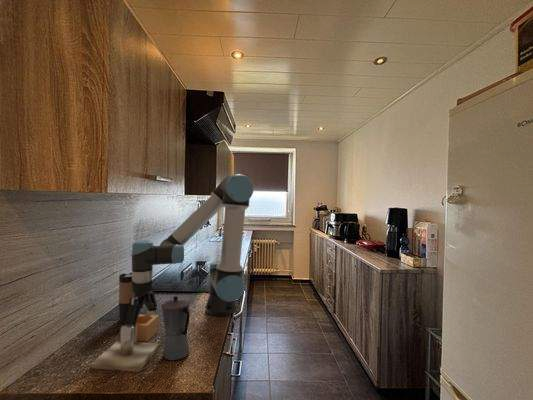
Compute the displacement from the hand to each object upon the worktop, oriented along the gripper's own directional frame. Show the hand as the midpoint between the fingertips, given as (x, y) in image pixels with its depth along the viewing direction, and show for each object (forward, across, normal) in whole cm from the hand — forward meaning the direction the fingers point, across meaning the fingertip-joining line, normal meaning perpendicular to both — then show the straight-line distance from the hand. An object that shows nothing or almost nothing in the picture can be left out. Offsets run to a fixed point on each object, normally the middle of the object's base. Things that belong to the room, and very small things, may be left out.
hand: (142, 334), depth 111 cm
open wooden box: (0, 0, 0) cm, 0 cm away
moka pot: (0, +11, +19) cm, 22 cm away
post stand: (0, +15, +3) cm, 15 cm away
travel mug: (0, -12, -13) cm, 18 cm away
